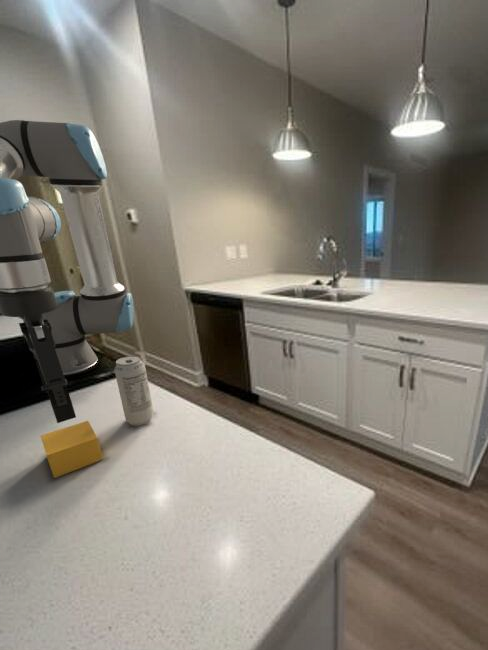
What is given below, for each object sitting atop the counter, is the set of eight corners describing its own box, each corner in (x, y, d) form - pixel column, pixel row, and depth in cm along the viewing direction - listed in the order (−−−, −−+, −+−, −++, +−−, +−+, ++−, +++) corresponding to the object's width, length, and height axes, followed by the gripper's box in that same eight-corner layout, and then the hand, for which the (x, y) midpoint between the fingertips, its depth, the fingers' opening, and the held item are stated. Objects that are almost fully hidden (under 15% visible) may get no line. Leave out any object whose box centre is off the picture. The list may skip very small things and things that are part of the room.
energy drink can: (150, 410, 84) (139, 353, 78) (157, 421, 79) (146, 361, 74) (123, 418, 80) (110, 359, 75) (129, 430, 76) (115, 367, 70)
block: (48, 456, 67) (40, 435, 66) (93, 440, 72) (87, 420, 70) (54, 478, 62) (46, 455, 60) (103, 459, 67) (97, 437, 65)
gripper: (-10, 279, 61) (27, 385, 69) (-5, 306, 43) (44, 444, 52) (41, 274, 65) (70, 375, 74) (65, 298, 48) (99, 425, 56)
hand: (59, 403), depth 63 cm, fingers open, 13 cm apart
